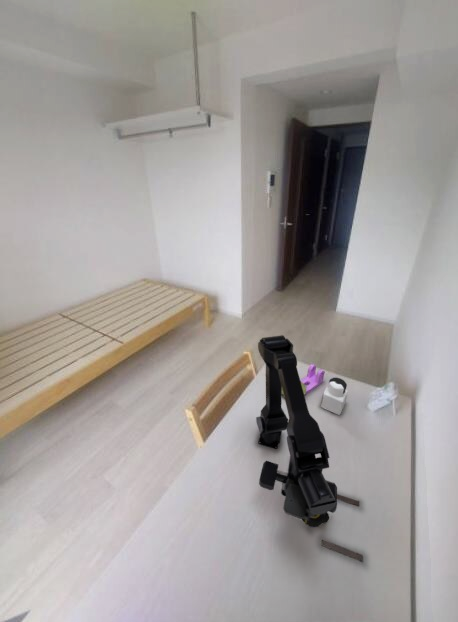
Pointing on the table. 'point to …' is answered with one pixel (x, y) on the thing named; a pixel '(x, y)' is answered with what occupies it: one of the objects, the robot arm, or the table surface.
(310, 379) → the bracket
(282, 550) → the table surface
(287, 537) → the table surface
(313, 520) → the tape measure
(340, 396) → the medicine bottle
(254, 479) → the table surface
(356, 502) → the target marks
